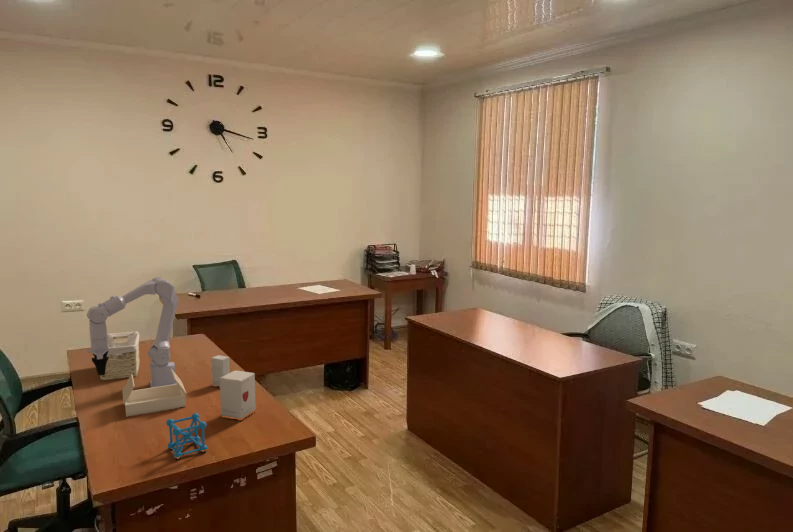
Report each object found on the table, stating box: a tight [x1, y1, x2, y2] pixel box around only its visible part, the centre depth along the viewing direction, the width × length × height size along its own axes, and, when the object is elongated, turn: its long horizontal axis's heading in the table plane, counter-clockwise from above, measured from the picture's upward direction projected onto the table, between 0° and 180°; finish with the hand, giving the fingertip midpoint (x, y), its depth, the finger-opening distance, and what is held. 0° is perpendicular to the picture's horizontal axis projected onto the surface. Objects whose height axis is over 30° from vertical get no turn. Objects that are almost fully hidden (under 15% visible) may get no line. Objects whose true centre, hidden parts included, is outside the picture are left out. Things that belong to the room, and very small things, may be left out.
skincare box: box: [210, 354, 231, 387], centre depth 229 cm, size 6×4×12 cm
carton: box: [124, 383, 187, 418], centre depth 209 cm, size 20×14×4 cm
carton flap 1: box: [122, 374, 135, 405], centre depth 204 cm, size 7×14×1 cm
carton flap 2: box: [171, 368, 188, 395], centre depth 212 cm, size 7×14×1 cm
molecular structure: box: [166, 412, 208, 458], centre depth 174 cm, size 10×10×10 cm
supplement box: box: [219, 370, 256, 418], centre depth 200 cm, size 9×9×15 cm
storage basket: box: [99, 331, 141, 381], centre depth 245 cm, size 24×16×15 cm
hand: (101, 371), depth 216 cm, fingers open, 7 cm apart
